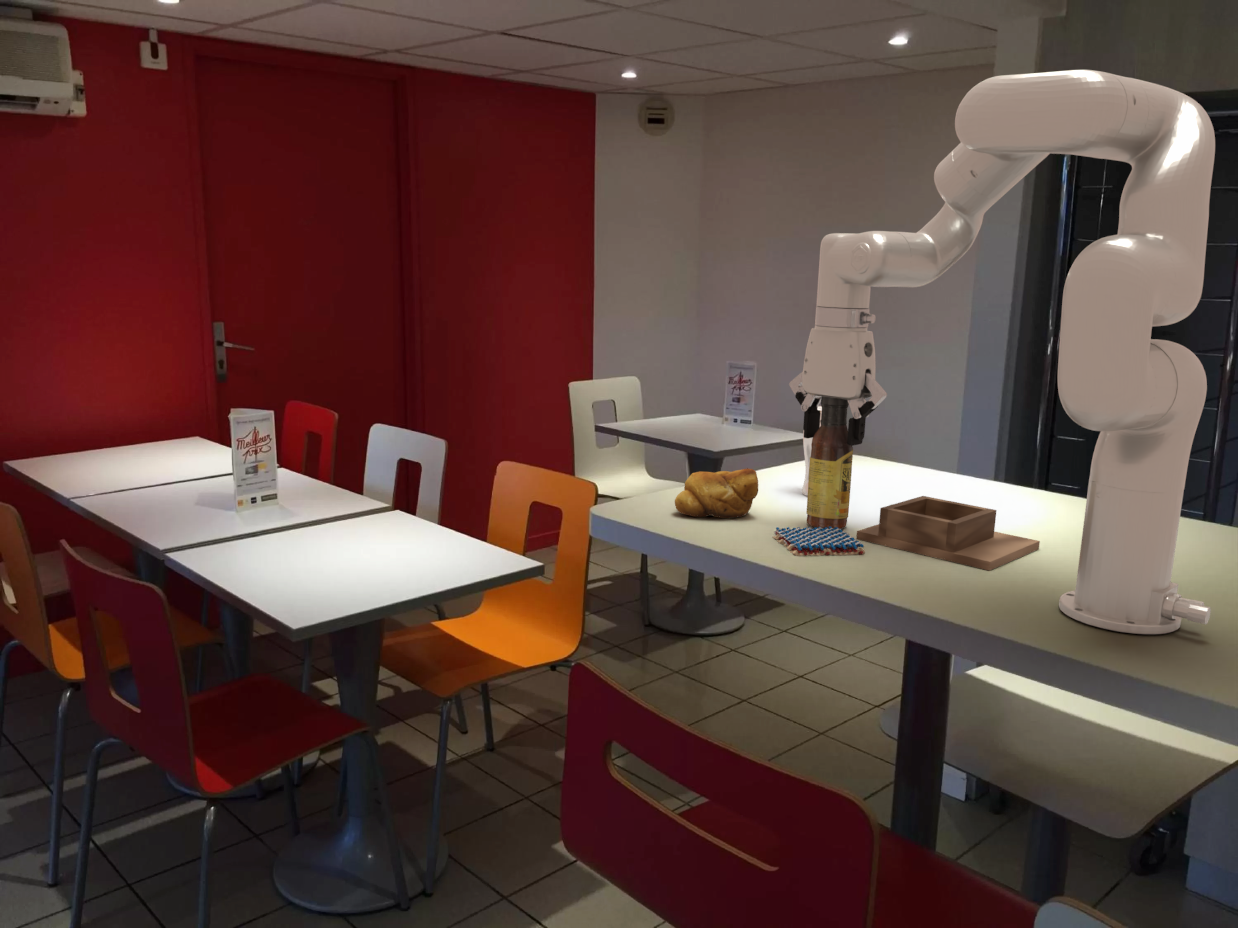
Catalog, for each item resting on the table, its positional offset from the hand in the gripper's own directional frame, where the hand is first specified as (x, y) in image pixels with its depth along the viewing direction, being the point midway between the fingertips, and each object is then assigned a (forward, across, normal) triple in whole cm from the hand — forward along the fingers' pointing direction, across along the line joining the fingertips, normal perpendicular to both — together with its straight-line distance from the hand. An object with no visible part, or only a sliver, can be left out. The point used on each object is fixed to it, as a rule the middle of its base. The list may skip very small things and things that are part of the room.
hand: (832, 439), depth 150 cm
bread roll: (+14, +16, +7) cm, 22 cm away
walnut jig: (+13, -17, -5) cm, 22 cm away
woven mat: (+14, -5, +10) cm, 18 cm away
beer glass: (+13, +13, -18) cm, 26 cm away
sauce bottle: (+13, 0, 0) cm, 13 cm away
